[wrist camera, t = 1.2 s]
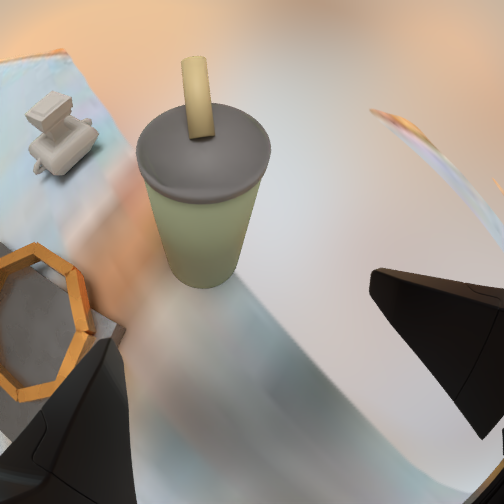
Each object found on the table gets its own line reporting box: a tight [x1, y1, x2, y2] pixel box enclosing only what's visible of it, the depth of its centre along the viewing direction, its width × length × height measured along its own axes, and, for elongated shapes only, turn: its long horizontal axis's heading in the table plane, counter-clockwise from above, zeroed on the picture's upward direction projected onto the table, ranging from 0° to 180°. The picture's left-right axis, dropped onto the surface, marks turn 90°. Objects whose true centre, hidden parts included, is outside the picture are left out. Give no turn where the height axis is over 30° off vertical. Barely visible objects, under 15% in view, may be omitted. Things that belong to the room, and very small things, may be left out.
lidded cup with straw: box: [136, 56, 271, 289], centre depth 17 cm, size 7×6×16 cm
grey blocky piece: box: [25, 91, 99, 176], centre depth 22 cm, size 9×7×8 cm
